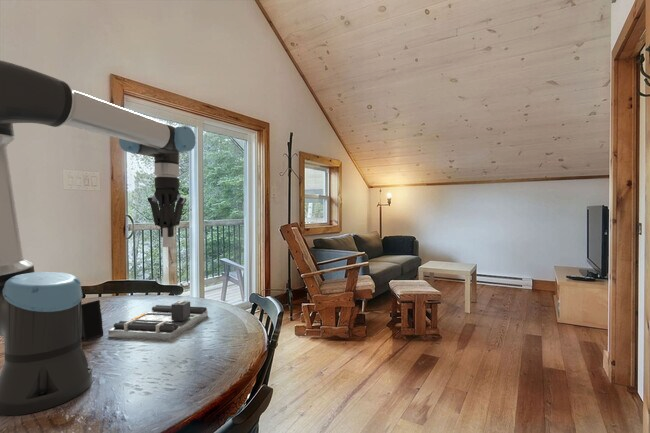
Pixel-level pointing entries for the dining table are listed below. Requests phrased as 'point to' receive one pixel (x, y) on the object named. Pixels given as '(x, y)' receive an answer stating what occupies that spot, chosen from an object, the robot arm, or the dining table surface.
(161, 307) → the cords right
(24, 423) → the dining table surface
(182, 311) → the dark grey block
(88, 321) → the speaker
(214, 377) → the dining table surface
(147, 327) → the cords left
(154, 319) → the panel
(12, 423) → the dining table surface
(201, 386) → the dining table surface
